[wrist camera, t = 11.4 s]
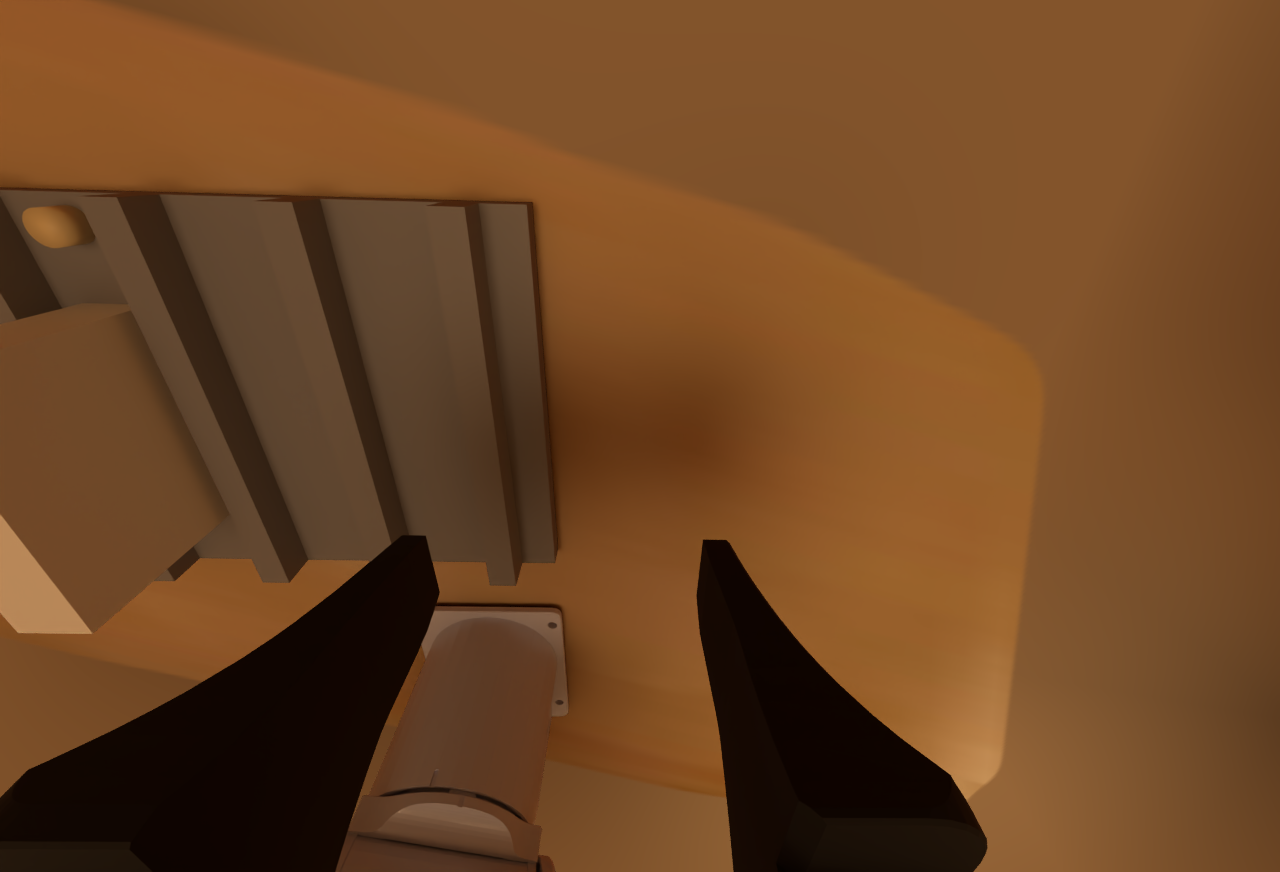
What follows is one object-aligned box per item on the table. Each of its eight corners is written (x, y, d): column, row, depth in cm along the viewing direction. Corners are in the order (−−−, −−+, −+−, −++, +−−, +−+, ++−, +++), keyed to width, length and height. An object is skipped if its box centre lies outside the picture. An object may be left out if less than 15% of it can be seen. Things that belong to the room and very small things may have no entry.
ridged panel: (558, 549, 25) (550, 586, 23) (158, 543, 25) (112, 580, 22) (532, 202, 17) (517, 208, 15) (-55, 185, 17) (-157, 189, 15)
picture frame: (242, 503, 22) (92, 633, 16) (185, 502, 22) (14, 633, 16) (150, 304, 18) (-104, 379, 12) (79, 303, 18) (-214, 377, 12)
